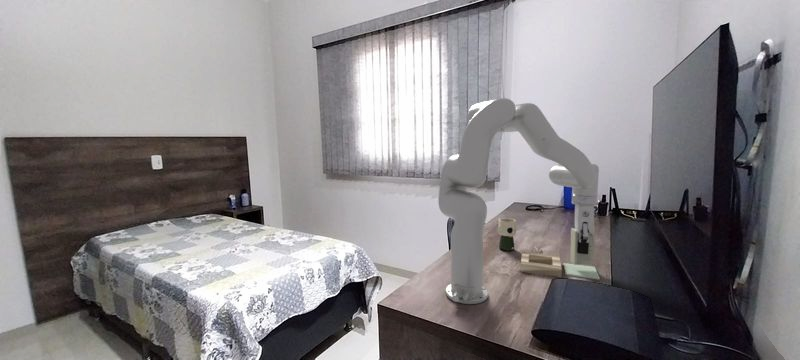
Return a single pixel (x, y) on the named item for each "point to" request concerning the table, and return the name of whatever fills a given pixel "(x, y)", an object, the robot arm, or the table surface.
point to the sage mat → (581, 271)
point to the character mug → (507, 233)
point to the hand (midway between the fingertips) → (581, 250)
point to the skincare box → (575, 256)
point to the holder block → (541, 264)
